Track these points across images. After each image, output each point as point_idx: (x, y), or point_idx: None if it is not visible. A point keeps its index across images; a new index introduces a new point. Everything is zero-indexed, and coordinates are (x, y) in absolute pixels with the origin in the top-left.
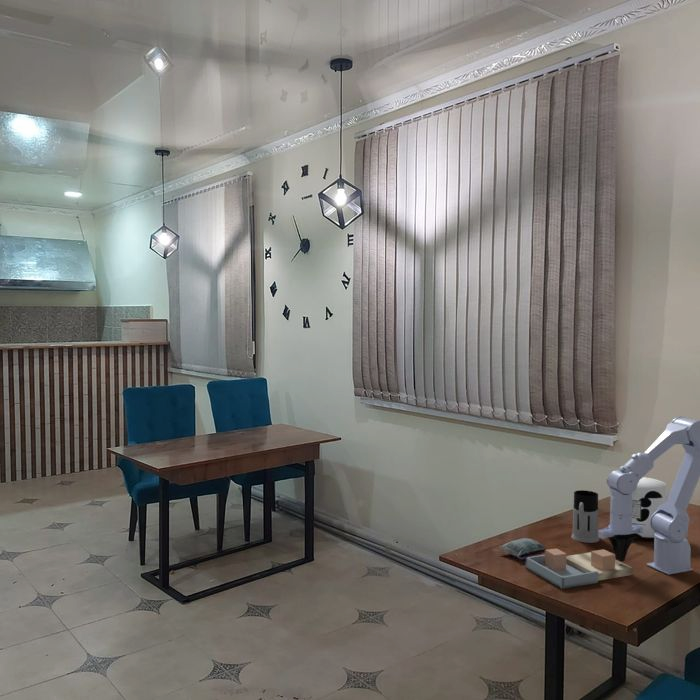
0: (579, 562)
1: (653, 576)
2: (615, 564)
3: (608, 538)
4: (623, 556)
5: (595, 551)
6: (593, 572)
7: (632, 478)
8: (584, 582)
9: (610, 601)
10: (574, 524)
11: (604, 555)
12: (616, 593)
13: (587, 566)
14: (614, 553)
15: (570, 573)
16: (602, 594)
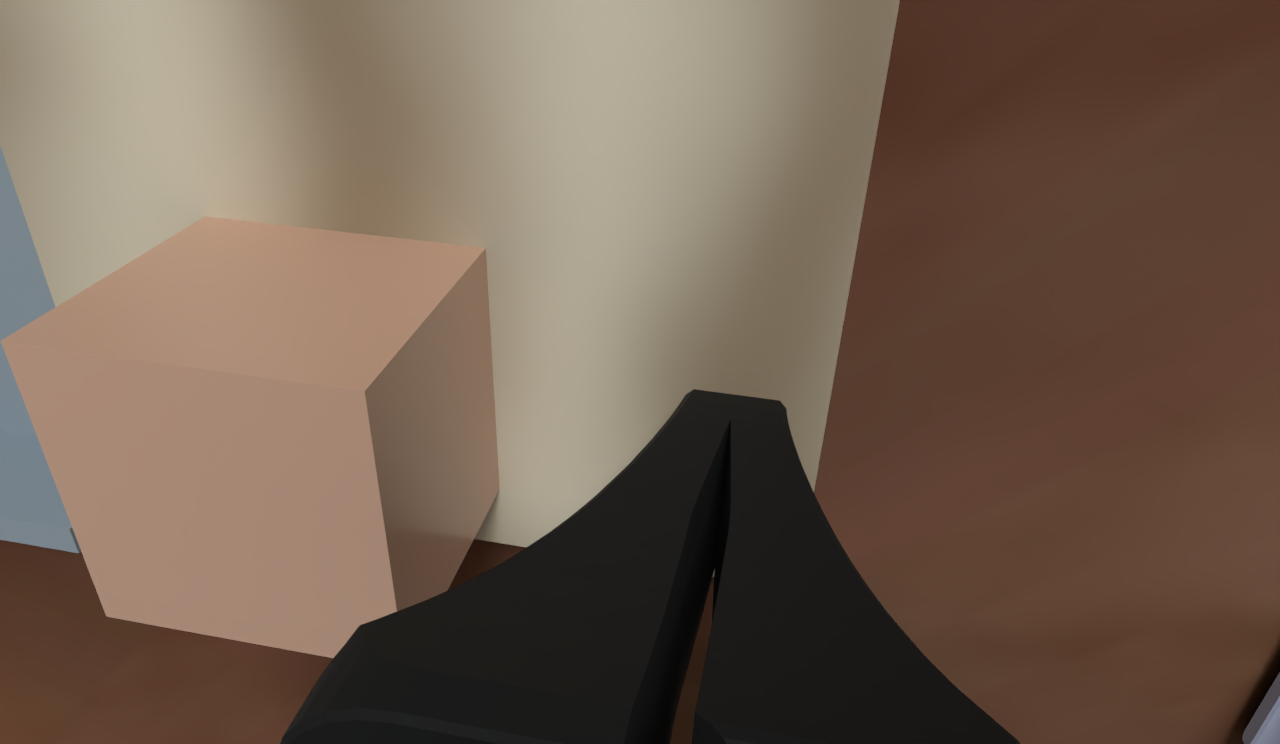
0: (50, 20)
1: (1009, 662)
2: (643, 389)
3: (397, 615)
4: (705, 597)
5: (91, 395)
6: (6, 537)
7: None
8: None
9: (88, 727)
10: None
11: (170, 602)
12: (228, 680)
13: (115, 235)
14: (652, 439)
15: None
16: (84, 634)
